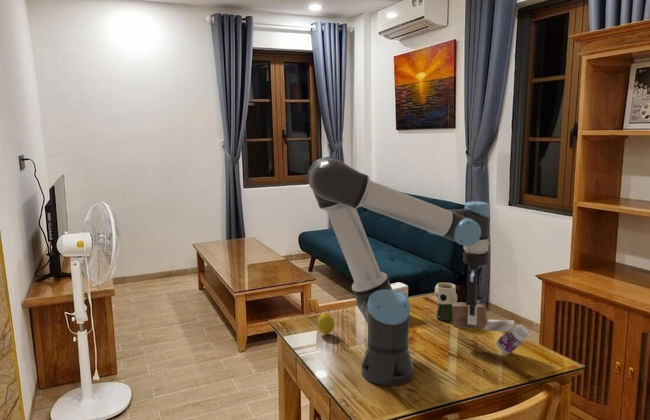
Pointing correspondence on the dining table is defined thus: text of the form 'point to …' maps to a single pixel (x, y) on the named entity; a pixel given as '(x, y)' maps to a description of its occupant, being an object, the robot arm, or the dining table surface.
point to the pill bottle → (512, 339)
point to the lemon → (325, 323)
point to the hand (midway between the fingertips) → (473, 321)
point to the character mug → (445, 300)
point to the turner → (478, 318)
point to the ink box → (400, 288)
